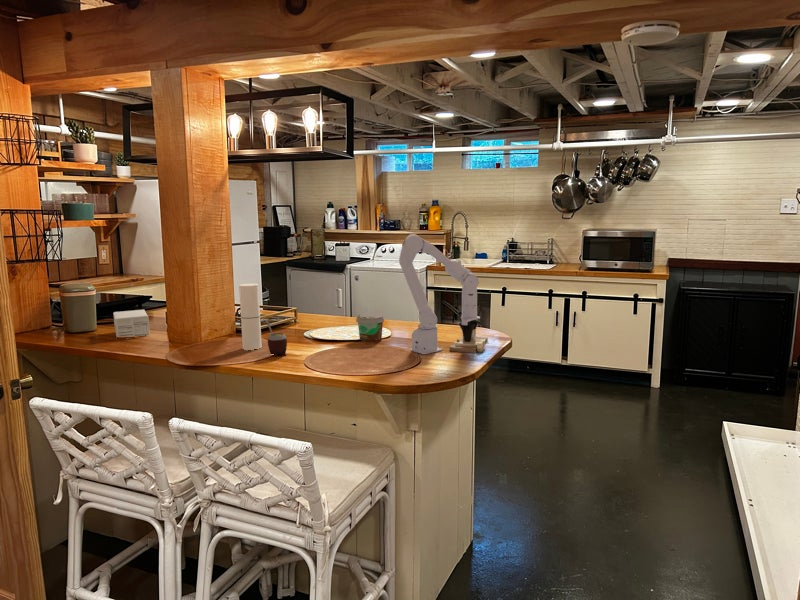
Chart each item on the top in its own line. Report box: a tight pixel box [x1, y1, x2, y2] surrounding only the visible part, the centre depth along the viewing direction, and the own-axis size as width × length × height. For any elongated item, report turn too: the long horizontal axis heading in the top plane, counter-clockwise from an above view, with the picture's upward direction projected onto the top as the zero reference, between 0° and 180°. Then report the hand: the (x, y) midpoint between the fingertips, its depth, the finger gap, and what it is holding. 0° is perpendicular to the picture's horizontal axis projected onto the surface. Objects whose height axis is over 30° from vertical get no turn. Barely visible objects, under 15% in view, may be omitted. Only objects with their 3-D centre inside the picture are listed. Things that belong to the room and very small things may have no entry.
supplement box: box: [112, 309, 151, 338], centre depth 255 cm, size 17×13×9 cm
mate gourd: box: [261, 317, 288, 358], centre depth 214 cm, size 8×8×15 cm
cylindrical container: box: [238, 283, 263, 351], centre depth 225 cm, size 7×7×25 cm
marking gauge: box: [454, 328, 486, 353], centre depth 220 cm, size 6×11×7 cm, turn 68°
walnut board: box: [449, 336, 489, 354], centre depth 226 cm, size 20×10×2 cm, turn 159°
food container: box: [355, 314, 385, 343], centre depth 236 cm, size 12×6×10 cm, turn 62°
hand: (469, 340), depth 220 cm, fingers closed on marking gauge, 4 cm apart
